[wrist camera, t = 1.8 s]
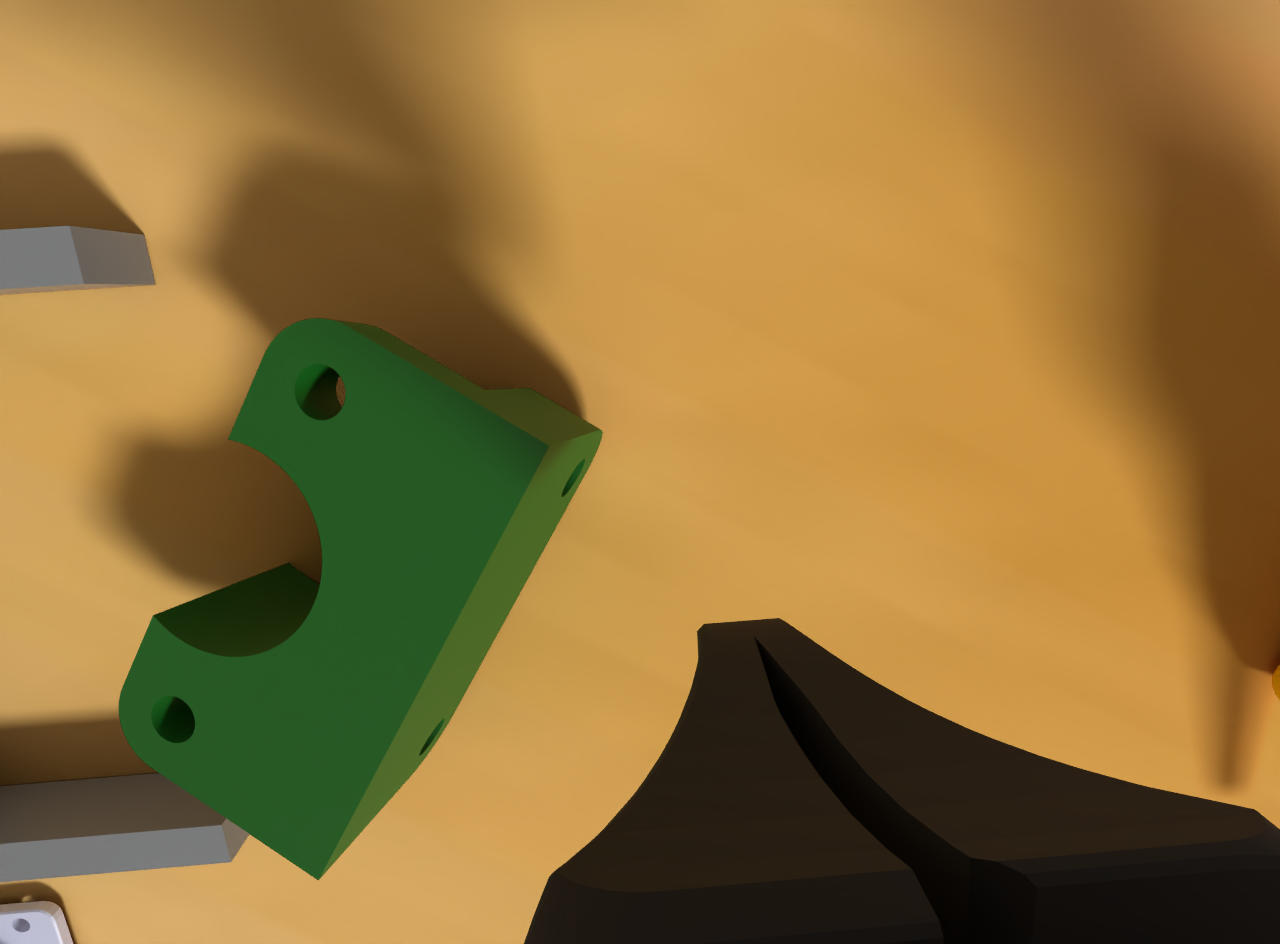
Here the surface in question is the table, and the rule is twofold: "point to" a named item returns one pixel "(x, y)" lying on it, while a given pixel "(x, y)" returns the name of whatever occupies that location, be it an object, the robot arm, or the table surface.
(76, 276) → the tool bay
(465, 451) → the clamp
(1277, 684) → the figure statuette
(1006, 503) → the table surface
